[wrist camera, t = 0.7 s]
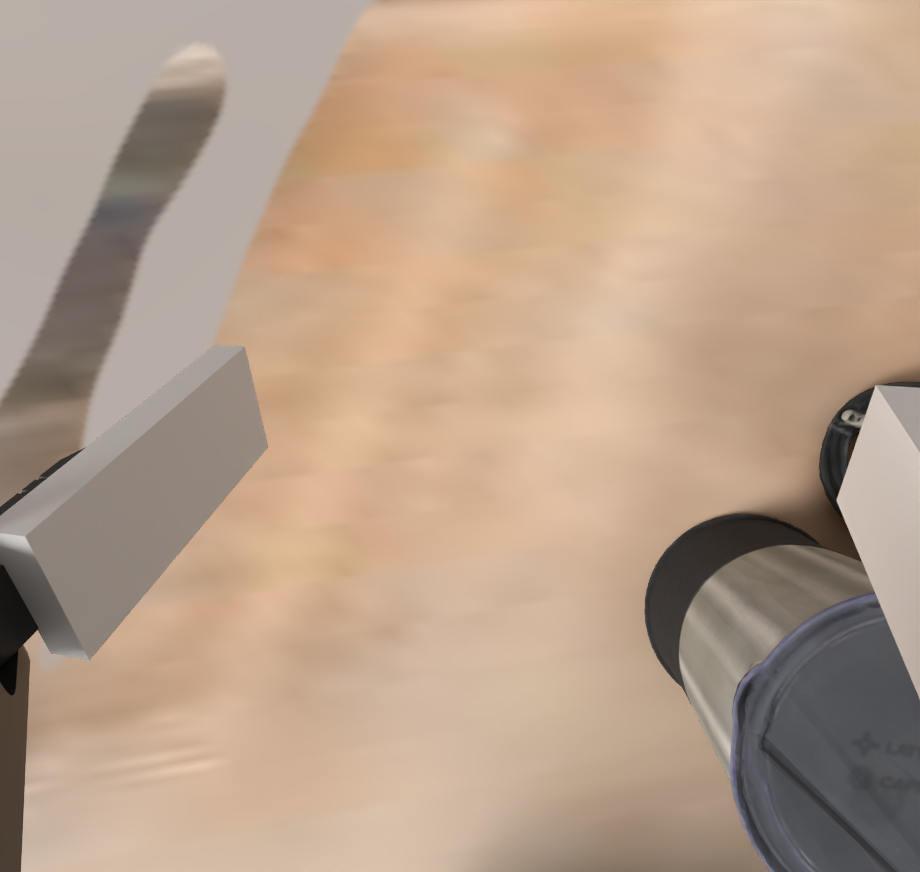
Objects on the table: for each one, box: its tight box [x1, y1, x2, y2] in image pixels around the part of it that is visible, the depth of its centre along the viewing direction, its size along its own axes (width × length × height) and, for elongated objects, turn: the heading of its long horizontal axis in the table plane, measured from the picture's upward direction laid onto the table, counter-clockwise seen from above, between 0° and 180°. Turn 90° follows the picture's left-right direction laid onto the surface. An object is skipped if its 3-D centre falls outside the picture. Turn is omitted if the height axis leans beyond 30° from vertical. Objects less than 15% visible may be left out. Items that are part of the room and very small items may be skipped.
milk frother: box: [645, 382, 920, 872], centre depth 23 cm, size 14×16×15 cm
